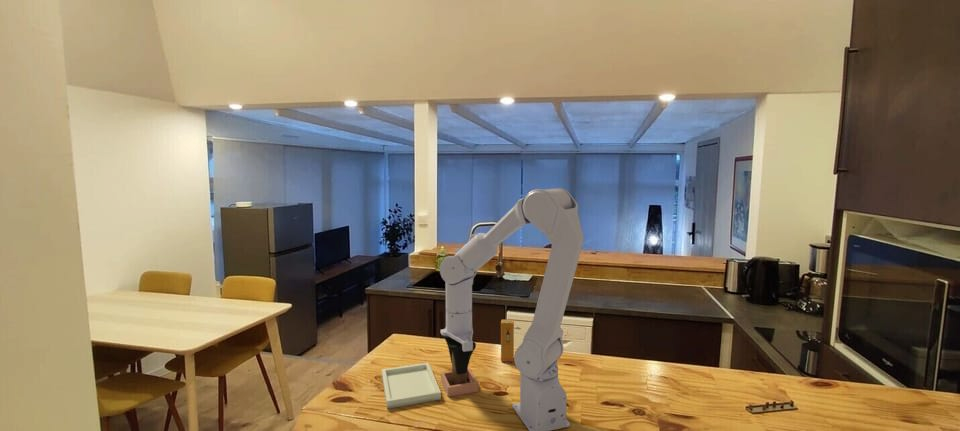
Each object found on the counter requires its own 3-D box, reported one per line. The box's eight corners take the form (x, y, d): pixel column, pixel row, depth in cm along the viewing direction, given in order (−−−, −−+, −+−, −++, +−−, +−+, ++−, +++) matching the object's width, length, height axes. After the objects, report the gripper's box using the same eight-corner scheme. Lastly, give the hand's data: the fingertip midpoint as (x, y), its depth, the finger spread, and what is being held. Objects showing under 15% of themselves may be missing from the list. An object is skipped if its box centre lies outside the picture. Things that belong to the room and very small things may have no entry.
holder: (478, 391, 87) (478, 382, 87) (447, 396, 85) (447, 387, 85) (469, 376, 93) (469, 368, 93) (440, 381, 91) (440, 372, 91)
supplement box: (513, 356, 104) (514, 318, 103) (513, 362, 100) (514, 323, 99) (501, 355, 104) (501, 318, 103) (500, 362, 101) (500, 323, 100)
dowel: (468, 388, 88) (468, 349, 87) (454, 391, 87) (453, 351, 86) (464, 381, 91) (464, 343, 90) (450, 383, 90) (450, 345, 89)
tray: (441, 399, 84) (440, 392, 84) (387, 408, 80) (386, 401, 80) (428, 368, 97) (428, 362, 97) (381, 375, 94) (381, 369, 94)
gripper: (434, 301, 93) (434, 357, 94) (448, 323, 79) (449, 388, 81) (463, 298, 95) (463, 353, 97) (482, 319, 81) (482, 383, 83)
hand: (459, 369), depth 89 cm, fingers closed on dowel, 3 cm apart
